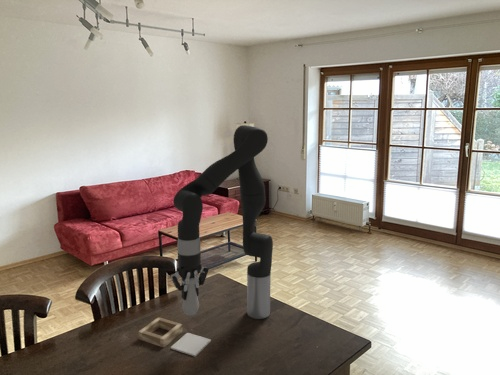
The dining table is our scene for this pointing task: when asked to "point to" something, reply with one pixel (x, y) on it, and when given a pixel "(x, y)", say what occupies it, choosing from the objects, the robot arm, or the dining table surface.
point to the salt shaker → (191, 299)
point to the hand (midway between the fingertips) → (190, 298)
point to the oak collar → (155, 339)
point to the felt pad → (191, 344)
